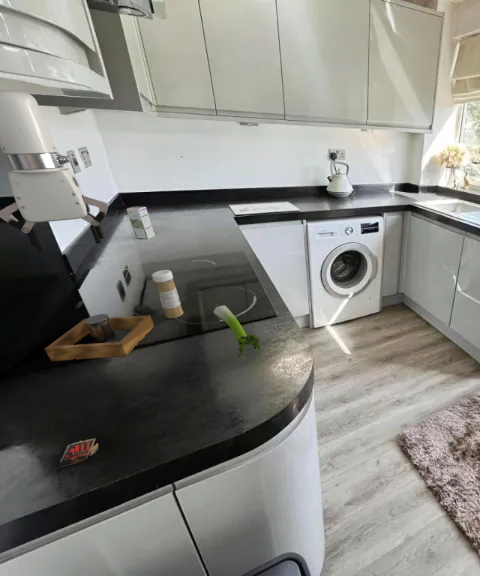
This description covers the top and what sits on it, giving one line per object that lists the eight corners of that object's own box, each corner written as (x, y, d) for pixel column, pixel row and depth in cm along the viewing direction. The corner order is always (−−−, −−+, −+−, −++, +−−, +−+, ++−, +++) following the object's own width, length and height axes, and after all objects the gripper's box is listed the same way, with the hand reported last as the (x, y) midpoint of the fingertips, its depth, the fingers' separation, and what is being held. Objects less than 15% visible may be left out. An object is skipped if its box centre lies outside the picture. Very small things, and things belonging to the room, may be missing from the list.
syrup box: (155, 235, 160) (146, 206, 154) (148, 239, 155) (138, 208, 148) (143, 235, 160) (134, 206, 154) (135, 239, 155) (125, 208, 148)
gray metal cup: (91, 348, 79) (79, 324, 76) (103, 337, 83) (92, 314, 80) (111, 347, 79) (100, 322, 76) (121, 336, 83) (112, 313, 80)
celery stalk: (234, 314, 97) (271, 357, 76) (210, 324, 94) (242, 373, 72) (227, 296, 95) (263, 336, 73) (202, 306, 91) (232, 351, 69)
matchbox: (59, 471, 51) (58, 469, 50) (63, 447, 54) (62, 445, 54) (97, 455, 53) (96, 453, 53) (99, 434, 57) (98, 432, 57)
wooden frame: (51, 361, 74) (44, 348, 73) (89, 329, 86) (84, 318, 84) (126, 356, 76) (121, 344, 75) (154, 326, 88) (150, 315, 86)
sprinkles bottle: (169, 311, 95) (156, 269, 89) (186, 310, 95) (174, 268, 90) (162, 320, 91) (147, 276, 85) (180, 318, 91) (166, 275, 85)
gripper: (94, 159, 71) (122, 235, 78) (-19, 163, 63) (24, 246, 70) (88, 162, 65) (118, 244, 73) (-38, 166, 57) (11, 257, 64)
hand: (72, 245), depth 71 cm, fingers open, 9 cm apart
